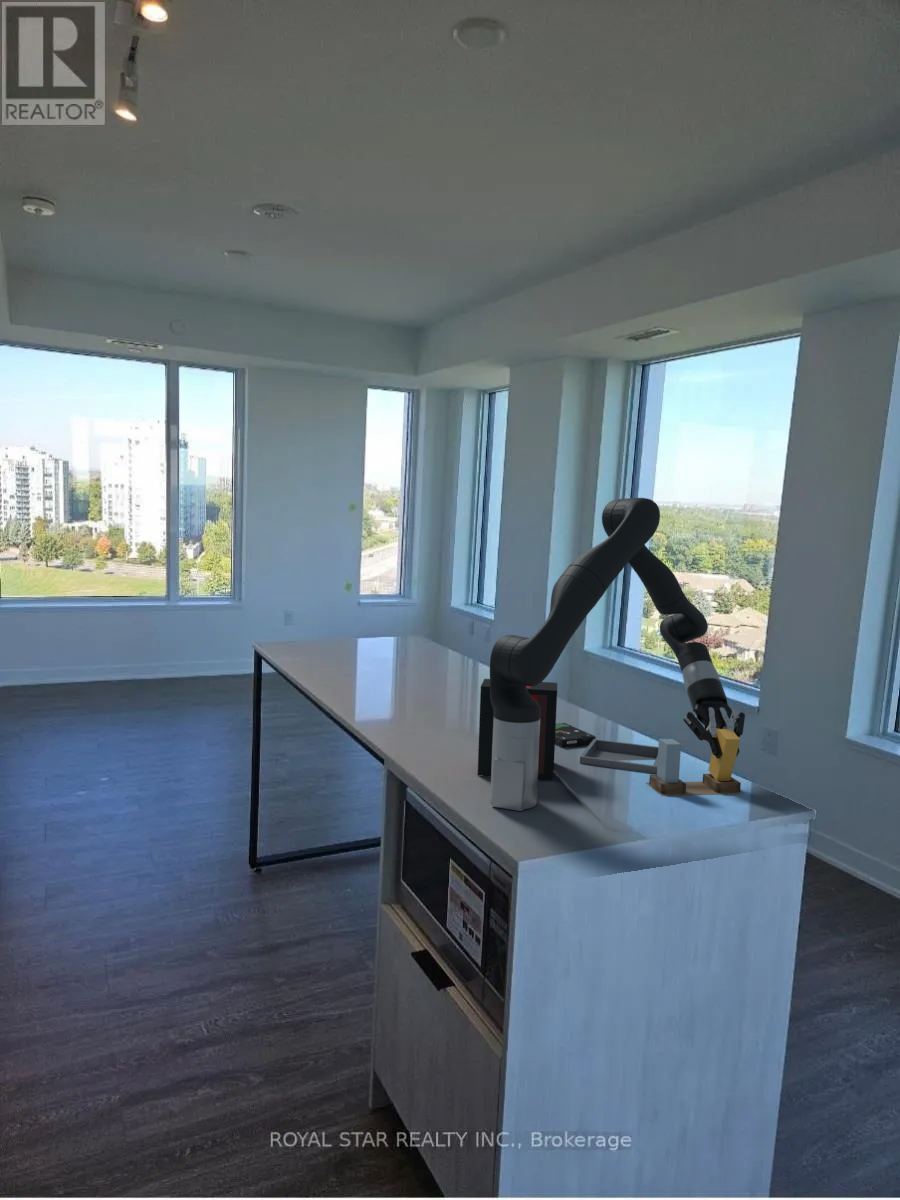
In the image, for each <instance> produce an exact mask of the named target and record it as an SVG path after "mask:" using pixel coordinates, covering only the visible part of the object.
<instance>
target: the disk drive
mask: <svg viewBox="0 0 900 1200" xmlns="http://www.w3.org/2000/svg"><path fill="white" fill-rule="evenodd" d="M593 739H597V737H596V735H593V734H591V733H589V732H587V731H585V730H582V729H580V728H578V727H575V726H573V725H571V724H568V723H566V722H563V723H556V731H555V746H557V747H558V746H559V748H560V749H566V748H567V749H568V748H576V747H586V746H587V747H588V746H589V745H590V743H591V742H592V741H593Z"/></svg>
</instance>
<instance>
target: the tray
mask: <svg viewBox="0 0 900 1200" xmlns="http://www.w3.org/2000/svg"><path fill="white" fill-rule="evenodd" d="M658 747H659V746H656V745H655V746H653V745H648V744H647V745H646V744H637V743H631V742H630V743H629V742H624V741H623V742H621V741H615V740H614V741H612V740H605V739H598V738H596V739H593V741H592V742H591V743H590V745H589V746H587V747H586V748H585V749H584V751H583V752H582V753H581V755H580V756H579V764H581V765H582V764H583V765H590V766H597V767H604V768H611V769H617V770H618V769H619V770H625V771H633V772H641V773H647V774H653V775H657V764H658ZM630 761H654V762H653V764H644V763H637V762H630Z"/></svg>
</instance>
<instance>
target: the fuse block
mask: <svg viewBox="0 0 900 1200" xmlns="http://www.w3.org/2000/svg"><path fill="white" fill-rule="evenodd" d="M648 780H649V781H648V782H645V784H647V785H648V786H649V787H650V788H651V789H652V790H654V791H655V792H656V793H657V794H659V795H660V796H663V797H665V796H667V797H669V796H671V797H672V796H676V797H677V796H702V795H703V796H707V795H708V796H709V795H710V796H711V795H744V792H743V791H741V788H742V787H741V785H742V784H741V781H738V779H736V778H734V777H732V776H731V779H730V781H717V780H715V778H714V777H713V776H712V774H711V773H702V781H683V780H681V779H680V778H679V783H663V782H662V781H661V780H659V779H658V778H657V774H649V779H648Z"/></svg>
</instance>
